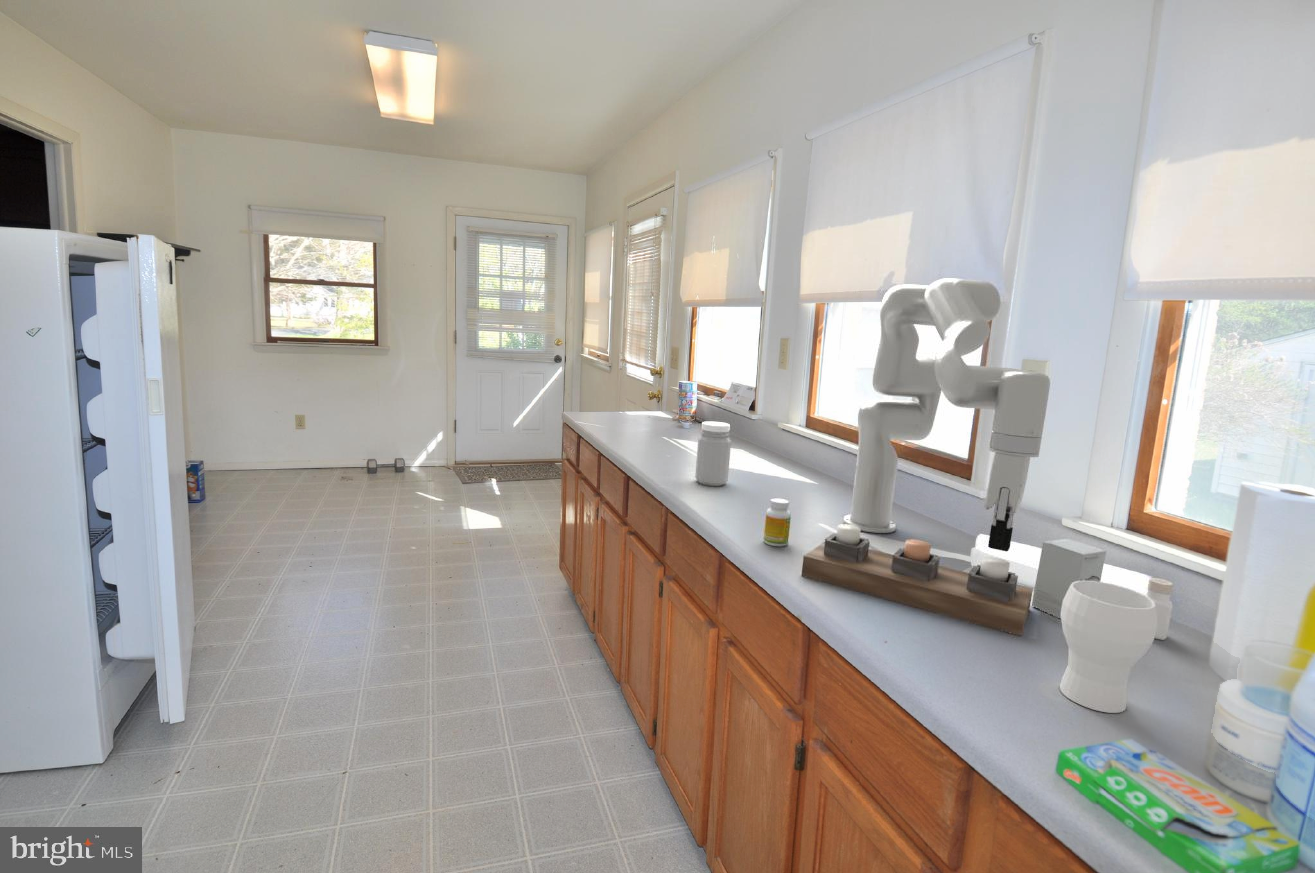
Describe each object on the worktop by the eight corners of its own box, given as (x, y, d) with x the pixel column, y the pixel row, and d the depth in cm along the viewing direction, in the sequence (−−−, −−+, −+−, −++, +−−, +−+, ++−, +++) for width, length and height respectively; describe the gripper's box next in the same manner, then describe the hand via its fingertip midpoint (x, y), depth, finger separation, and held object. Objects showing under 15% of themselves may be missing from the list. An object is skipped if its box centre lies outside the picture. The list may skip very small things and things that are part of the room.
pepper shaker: (1166, 642, 112) (1177, 588, 110) (1136, 634, 114) (1147, 581, 112) (1163, 633, 115) (1174, 581, 113) (1135, 626, 117) (1145, 574, 115)
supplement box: (1070, 623, 116) (1083, 554, 114) (1029, 606, 123) (1041, 540, 121) (1095, 617, 120) (1108, 550, 118) (1054, 601, 126) (1066, 536, 124)
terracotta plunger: (906, 552, 128) (908, 537, 127) (931, 558, 125) (933, 543, 125) (900, 558, 124) (903, 543, 124) (925, 564, 122) (928, 549, 121)
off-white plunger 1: (839, 537, 135) (841, 522, 134) (861, 542, 132) (863, 527, 132) (832, 542, 131) (834, 527, 130) (854, 547, 129) (856, 532, 128)
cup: (1124, 687, 95) (1144, 587, 93) (1151, 728, 85) (1174, 617, 83) (1040, 670, 99) (1057, 573, 96) (1057, 707, 89) (1076, 600, 86)
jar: (693, 484, 198) (697, 424, 195) (696, 477, 207) (701, 419, 204) (726, 488, 196) (731, 427, 193) (728, 480, 206) (733, 422, 203)
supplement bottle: (787, 548, 146) (792, 505, 144) (762, 545, 147) (766, 502, 145) (788, 540, 151) (792, 499, 149) (763, 537, 152) (768, 496, 150)
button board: (826, 557, 142) (829, 525, 141) (1029, 609, 121) (1035, 572, 120) (801, 575, 130) (805, 541, 129) (1021, 636, 110) (1028, 595, 109)
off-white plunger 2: (981, 570, 121) (983, 554, 120) (1008, 576, 118) (1011, 560, 118) (977, 577, 117) (980, 560, 117) (1005, 584, 115) (1008, 567, 114)
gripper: (996, 437, 122) (981, 534, 125) (984, 446, 109) (968, 553, 112) (1043, 443, 118) (1027, 543, 121) (1036, 453, 105) (1018, 564, 108)
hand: (998, 548), depth 117 cm, fingers closed
